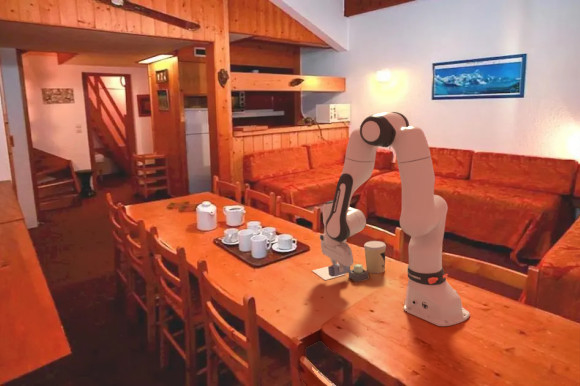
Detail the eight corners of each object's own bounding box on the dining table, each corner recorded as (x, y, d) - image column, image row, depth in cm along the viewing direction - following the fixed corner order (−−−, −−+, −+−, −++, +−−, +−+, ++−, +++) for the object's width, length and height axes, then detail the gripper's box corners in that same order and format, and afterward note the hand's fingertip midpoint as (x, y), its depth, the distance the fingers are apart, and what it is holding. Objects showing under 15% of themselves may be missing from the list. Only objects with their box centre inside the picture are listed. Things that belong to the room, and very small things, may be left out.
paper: (345, 274, 175) (345, 274, 175) (325, 280, 171) (325, 279, 171) (331, 266, 185) (331, 265, 185) (312, 271, 182) (312, 270, 181)
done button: (364, 275, 169) (364, 266, 168) (357, 277, 168) (356, 268, 167) (359, 272, 173) (359, 263, 172) (352, 274, 171) (351, 265, 170)
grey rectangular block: (347, 269, 172) (346, 261, 171) (350, 272, 169) (349, 263, 168) (328, 275, 168) (327, 266, 167) (332, 277, 166) (331, 268, 165)
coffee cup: (386, 274, 172) (386, 247, 170) (364, 274, 174) (363, 247, 172) (386, 265, 181) (385, 240, 178) (365, 265, 183) (364, 240, 180)
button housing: (368, 278, 169) (368, 272, 168) (356, 282, 167) (356, 275, 166) (360, 274, 174) (360, 267, 174) (348, 277, 172) (348, 270, 171)
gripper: (355, 242, 157) (358, 275, 160) (330, 231, 176) (332, 261, 178) (342, 246, 155) (344, 279, 158) (317, 234, 173) (320, 264, 176)
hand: (338, 269), depth 168 cm, fingers closed on grey rectangular block, 3 cm apart
